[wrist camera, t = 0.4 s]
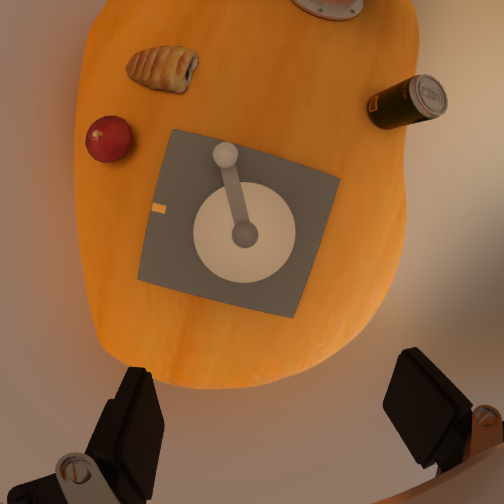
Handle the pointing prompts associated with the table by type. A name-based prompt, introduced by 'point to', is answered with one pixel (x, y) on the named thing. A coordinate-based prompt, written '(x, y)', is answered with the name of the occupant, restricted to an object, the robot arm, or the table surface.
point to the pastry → (163, 67)
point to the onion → (108, 139)
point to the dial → (242, 226)
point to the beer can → (408, 102)
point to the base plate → (194, 195)
